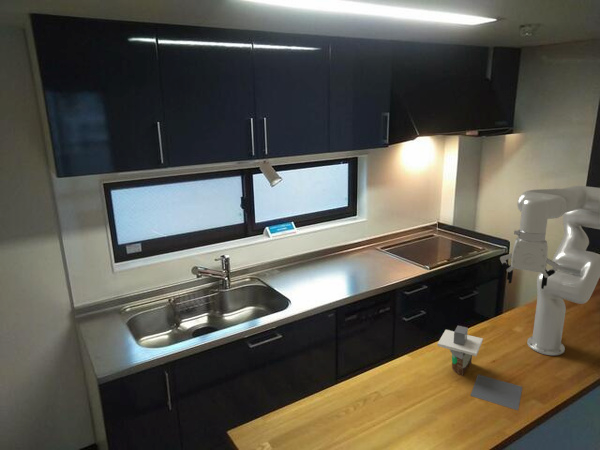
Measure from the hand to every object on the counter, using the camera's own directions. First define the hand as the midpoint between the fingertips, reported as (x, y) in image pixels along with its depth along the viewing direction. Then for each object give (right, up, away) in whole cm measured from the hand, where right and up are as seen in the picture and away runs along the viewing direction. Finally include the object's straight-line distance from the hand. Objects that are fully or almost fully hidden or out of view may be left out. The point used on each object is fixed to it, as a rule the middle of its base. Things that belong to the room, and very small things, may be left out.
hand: (526, 284), depth 142 cm
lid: (-19, -22, +9) cm, 30 cm away
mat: (-11, -36, -2) cm, 37 cm away
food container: (-18, -32, +12) cm, 39 cm away
